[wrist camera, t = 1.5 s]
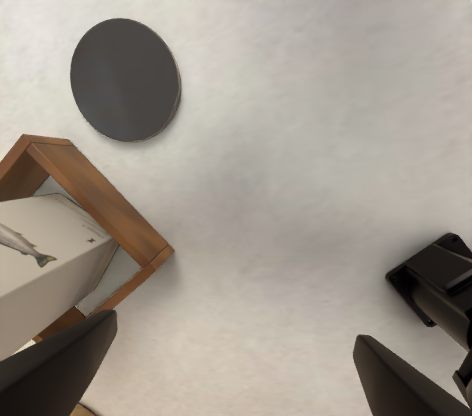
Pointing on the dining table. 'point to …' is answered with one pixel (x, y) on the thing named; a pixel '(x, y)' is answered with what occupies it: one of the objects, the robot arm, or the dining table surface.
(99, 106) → the slate coaster
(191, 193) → the dining table surface
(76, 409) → the pastry
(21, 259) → the white packaging box
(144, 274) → the brown square shallow frame
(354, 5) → the dining table surface
